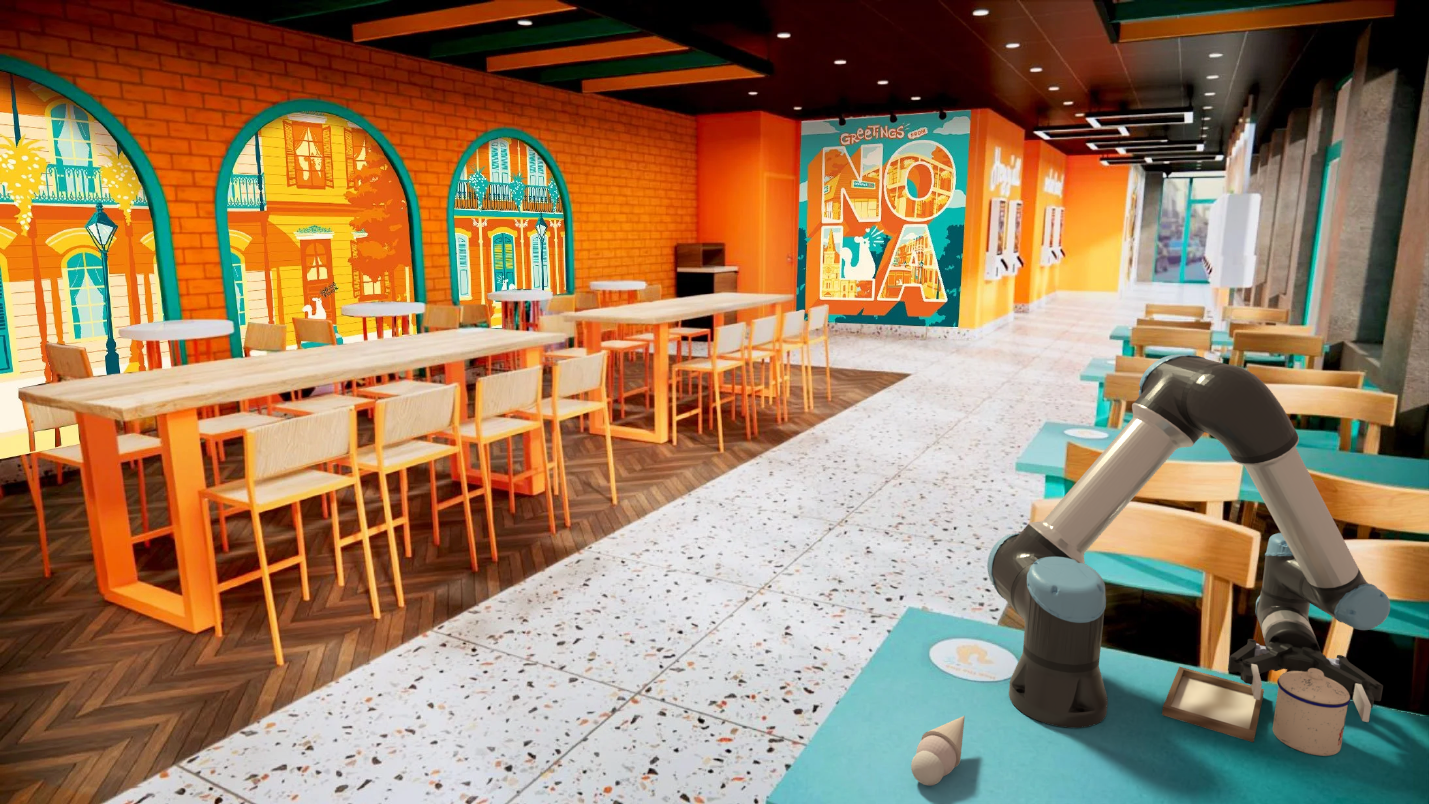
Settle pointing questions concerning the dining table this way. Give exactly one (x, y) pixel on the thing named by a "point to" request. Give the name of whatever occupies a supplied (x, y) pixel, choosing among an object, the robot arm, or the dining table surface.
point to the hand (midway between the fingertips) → (1311, 702)
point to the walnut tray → (1213, 703)
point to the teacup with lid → (1310, 712)
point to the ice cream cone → (938, 752)
